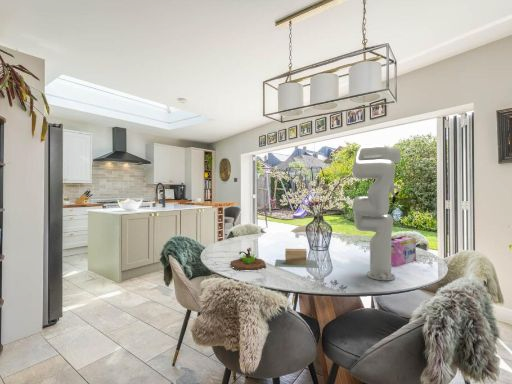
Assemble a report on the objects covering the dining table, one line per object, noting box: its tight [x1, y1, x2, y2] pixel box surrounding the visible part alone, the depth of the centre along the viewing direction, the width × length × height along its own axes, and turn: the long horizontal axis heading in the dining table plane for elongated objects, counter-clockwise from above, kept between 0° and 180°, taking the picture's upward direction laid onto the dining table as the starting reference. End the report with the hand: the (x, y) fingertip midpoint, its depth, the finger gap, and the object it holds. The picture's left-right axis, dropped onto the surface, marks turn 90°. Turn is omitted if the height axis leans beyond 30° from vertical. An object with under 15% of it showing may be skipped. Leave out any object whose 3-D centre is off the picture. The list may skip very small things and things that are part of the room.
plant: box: [230, 247, 267, 271], centre depth 155 cm, size 20×20×11 cm
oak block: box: [284, 248, 308, 265], centre depth 159 cm, size 5×12×8 cm, turn 83°
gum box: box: [391, 235, 417, 267], centre depth 161 cm, size 24×8×14 cm, turn 124°
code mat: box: [274, 259, 319, 269], centre depth 159 cm, size 15×24×1 cm, turn 83°
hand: (384, 203), depth 159 cm, fingers open, 9 cm apart
